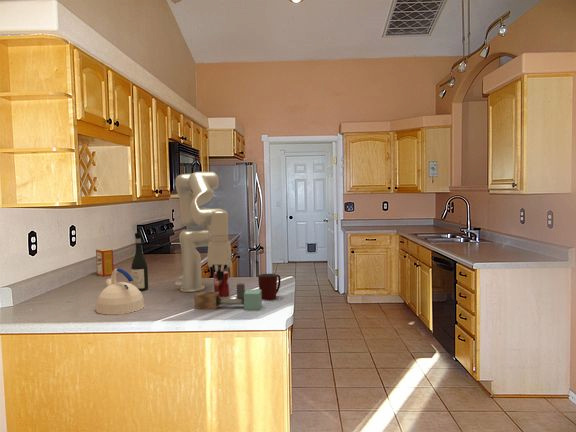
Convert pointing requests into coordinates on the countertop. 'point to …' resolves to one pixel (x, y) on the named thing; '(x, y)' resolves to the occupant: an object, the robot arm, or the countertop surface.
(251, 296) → the socket block
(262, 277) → the mug
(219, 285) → the soda can
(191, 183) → the robot arm
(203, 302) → the guide sleeve
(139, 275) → the wine bottle
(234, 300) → the slide bolt
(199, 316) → the countertop surface
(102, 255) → the baking soda box
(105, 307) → the kettle
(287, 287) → the countertop surface
